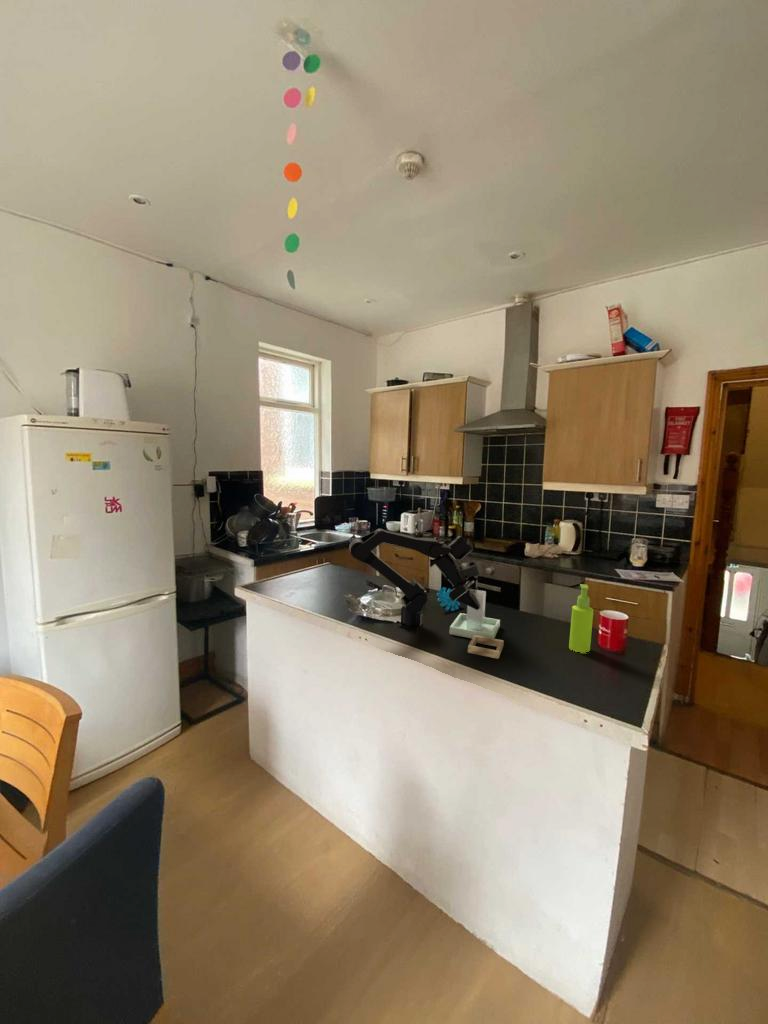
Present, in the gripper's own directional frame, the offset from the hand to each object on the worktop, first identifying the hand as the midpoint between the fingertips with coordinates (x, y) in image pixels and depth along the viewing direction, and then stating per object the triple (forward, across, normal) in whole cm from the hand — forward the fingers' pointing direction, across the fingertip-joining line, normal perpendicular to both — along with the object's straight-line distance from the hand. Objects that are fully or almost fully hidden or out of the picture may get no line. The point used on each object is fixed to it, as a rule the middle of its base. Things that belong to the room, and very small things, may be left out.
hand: (480, 605), depth 142 cm
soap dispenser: (+28, +1, -15) cm, 32 cm away
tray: (+5, 0, +7) cm, 9 cm away
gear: (-4, +17, +17) cm, 24 cm away
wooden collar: (+10, -13, +3) cm, 16 cm away
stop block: (+5, 0, +7) cm, 8 cm away
